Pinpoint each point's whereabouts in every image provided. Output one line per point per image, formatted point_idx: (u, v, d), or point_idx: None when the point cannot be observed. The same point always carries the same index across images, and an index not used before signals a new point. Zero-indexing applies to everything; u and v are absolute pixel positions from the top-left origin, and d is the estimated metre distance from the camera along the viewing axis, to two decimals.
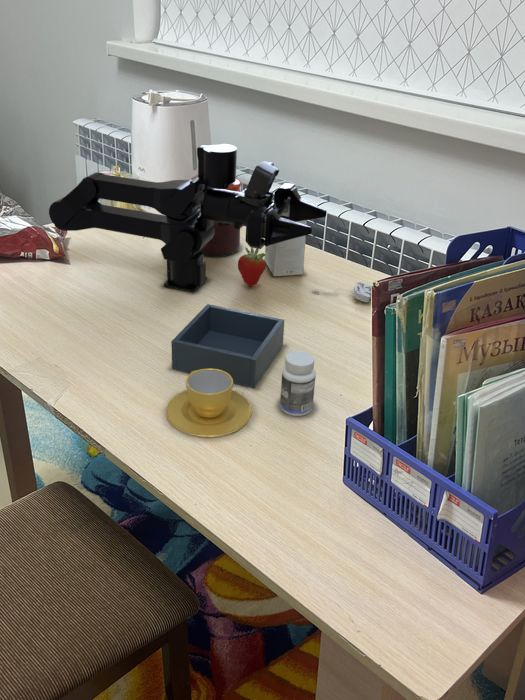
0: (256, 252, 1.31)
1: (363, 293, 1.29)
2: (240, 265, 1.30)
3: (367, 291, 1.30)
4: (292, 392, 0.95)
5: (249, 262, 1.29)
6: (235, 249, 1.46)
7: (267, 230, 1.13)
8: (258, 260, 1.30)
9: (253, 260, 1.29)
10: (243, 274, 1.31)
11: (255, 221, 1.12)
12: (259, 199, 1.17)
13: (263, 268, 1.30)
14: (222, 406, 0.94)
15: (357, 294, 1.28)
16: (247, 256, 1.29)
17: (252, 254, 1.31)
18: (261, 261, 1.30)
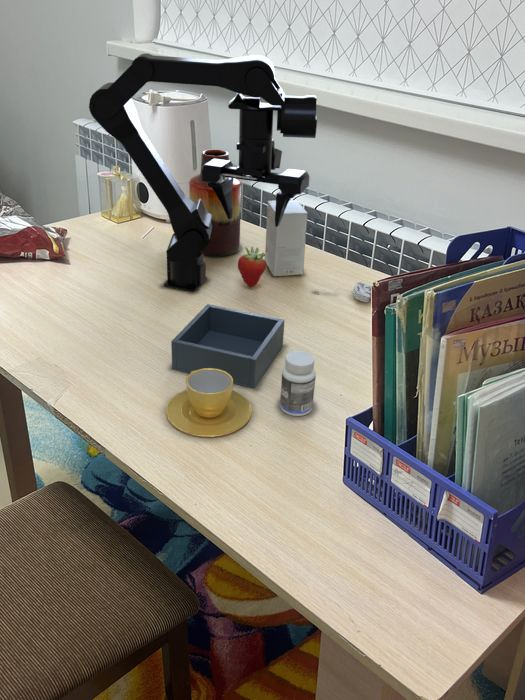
0: (256, 252, 1.31)
1: (363, 293, 1.29)
2: (240, 265, 1.30)
3: (367, 291, 1.30)
4: (292, 392, 0.95)
5: (249, 262, 1.29)
6: (235, 249, 1.46)
7: None
8: (258, 260, 1.30)
9: (253, 260, 1.29)
10: (243, 274, 1.31)
11: (307, 182, 1.21)
12: None
13: (263, 268, 1.30)
14: (222, 406, 0.94)
15: (357, 295, 1.28)
16: (247, 256, 1.29)
17: (252, 254, 1.31)
18: (261, 261, 1.30)
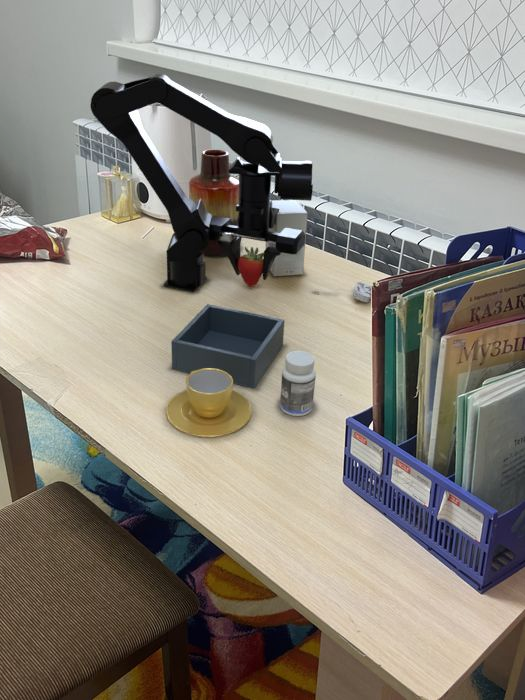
0: (256, 252, 1.31)
1: (363, 293, 1.29)
2: (240, 265, 1.30)
3: (367, 291, 1.30)
4: (292, 392, 0.95)
5: (249, 262, 1.29)
6: None
7: None
8: (258, 260, 1.30)
9: (253, 260, 1.29)
10: (243, 274, 1.31)
11: (303, 240, 1.27)
12: None
13: None
14: (222, 406, 0.94)
15: (357, 295, 1.28)
16: (247, 256, 1.29)
17: (252, 254, 1.31)
18: (261, 261, 1.30)
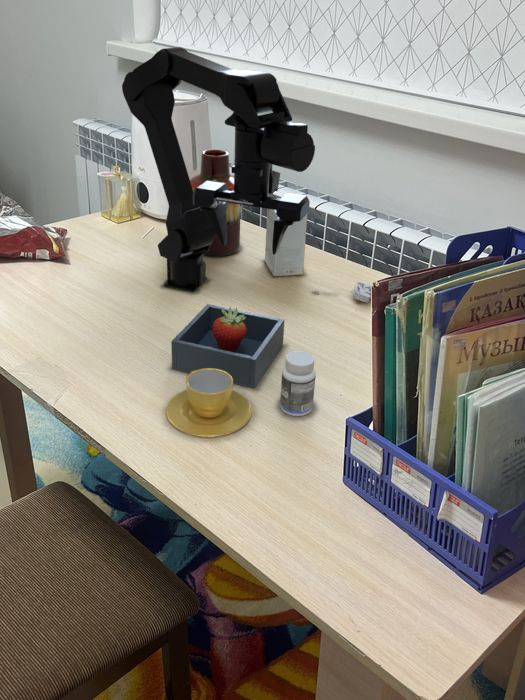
0: (235, 314, 1.08)
1: (363, 293, 1.29)
2: (215, 331, 1.07)
3: (367, 291, 1.30)
4: (292, 392, 0.95)
5: (226, 328, 1.06)
6: (235, 249, 1.46)
7: None
8: (237, 324, 1.07)
9: (231, 325, 1.06)
10: (219, 341, 1.08)
11: (308, 207, 1.13)
12: None
13: (243, 334, 1.07)
14: (222, 406, 0.94)
15: (357, 295, 1.28)
16: (223, 320, 1.06)
17: (230, 316, 1.08)
18: (241, 325, 1.07)
